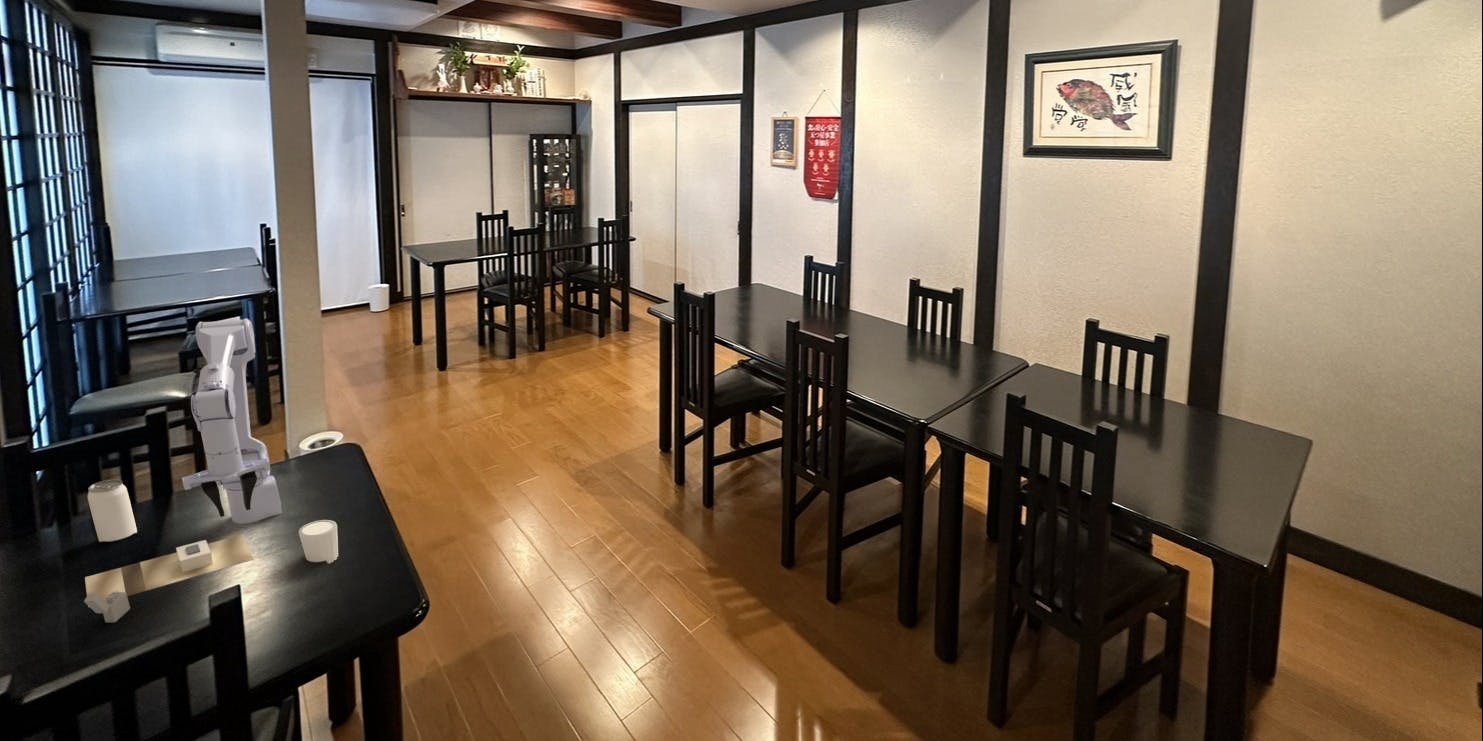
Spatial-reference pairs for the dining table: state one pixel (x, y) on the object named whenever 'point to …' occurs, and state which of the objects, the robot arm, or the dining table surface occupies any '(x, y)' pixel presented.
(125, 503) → the can
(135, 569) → the board
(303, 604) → the dining table surface
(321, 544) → the white cup
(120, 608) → the lighter
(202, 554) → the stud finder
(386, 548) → the dining table surface
